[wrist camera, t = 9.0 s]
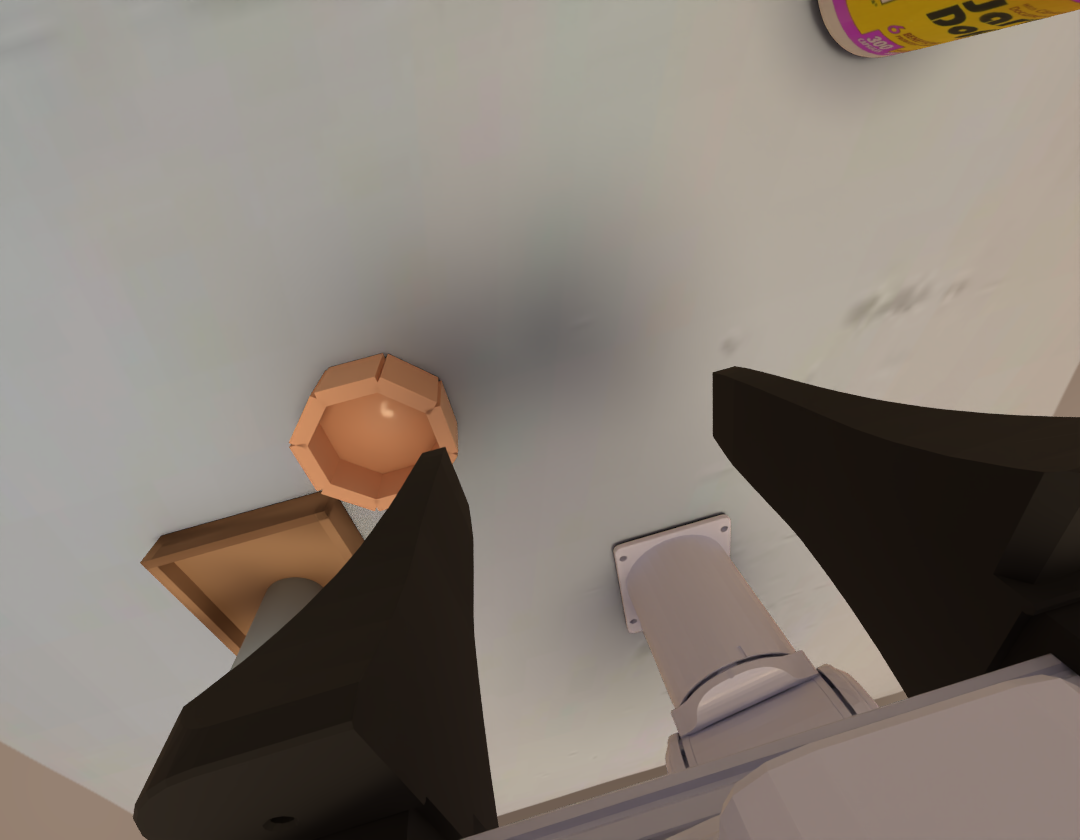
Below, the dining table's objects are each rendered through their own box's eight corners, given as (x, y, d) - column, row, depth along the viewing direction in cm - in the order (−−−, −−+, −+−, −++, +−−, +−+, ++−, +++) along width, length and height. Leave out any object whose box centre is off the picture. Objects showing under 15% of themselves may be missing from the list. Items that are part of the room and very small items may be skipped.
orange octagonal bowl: (469, 455, 24) (471, 485, 21) (347, 488, 23) (337, 522, 21) (426, 341, 20) (424, 363, 18) (284, 379, 20) (263, 406, 18)
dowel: (336, 608, 26) (291, 765, 19) (280, 621, 26) (216, 784, 19) (314, 571, 24) (257, 729, 17) (255, 585, 24) (174, 749, 17)
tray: (414, 622, 29) (411, 648, 28) (280, 661, 29) (271, 689, 27) (332, 488, 23) (324, 511, 22) (161, 535, 23) (140, 562, 21)
